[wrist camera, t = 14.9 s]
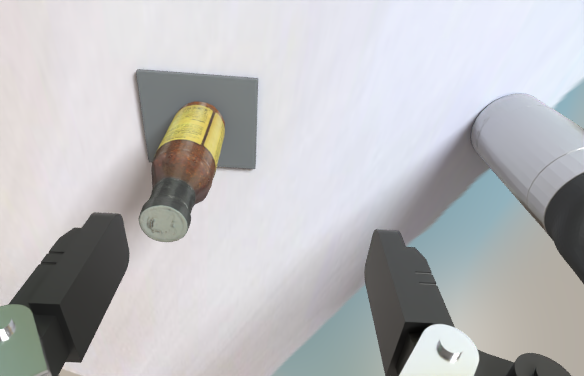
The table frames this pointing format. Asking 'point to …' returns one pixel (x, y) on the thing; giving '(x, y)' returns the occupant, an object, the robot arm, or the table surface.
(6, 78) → the table surface
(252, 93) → the placemat
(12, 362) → the robot arm
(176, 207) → the sauce bottle
